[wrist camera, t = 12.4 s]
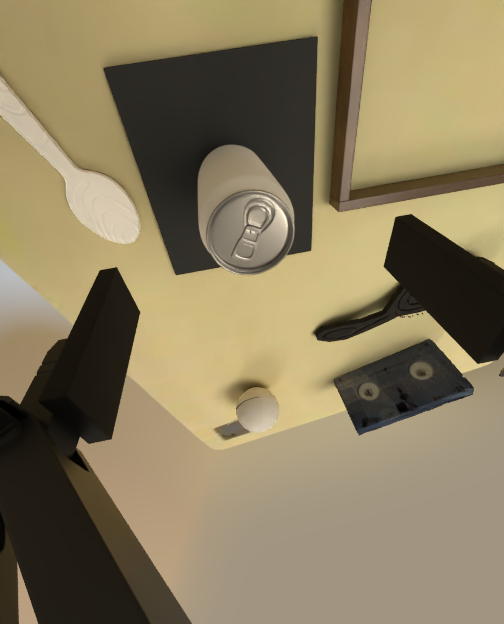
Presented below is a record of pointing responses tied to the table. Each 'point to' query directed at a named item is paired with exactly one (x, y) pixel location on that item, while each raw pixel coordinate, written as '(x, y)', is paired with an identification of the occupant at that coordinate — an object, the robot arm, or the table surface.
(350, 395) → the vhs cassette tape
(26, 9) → the table surface
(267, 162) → the mat
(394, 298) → the hairbrush
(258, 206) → the can
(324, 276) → the table surface
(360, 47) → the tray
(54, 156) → the spoon
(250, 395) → the seamed sphere
